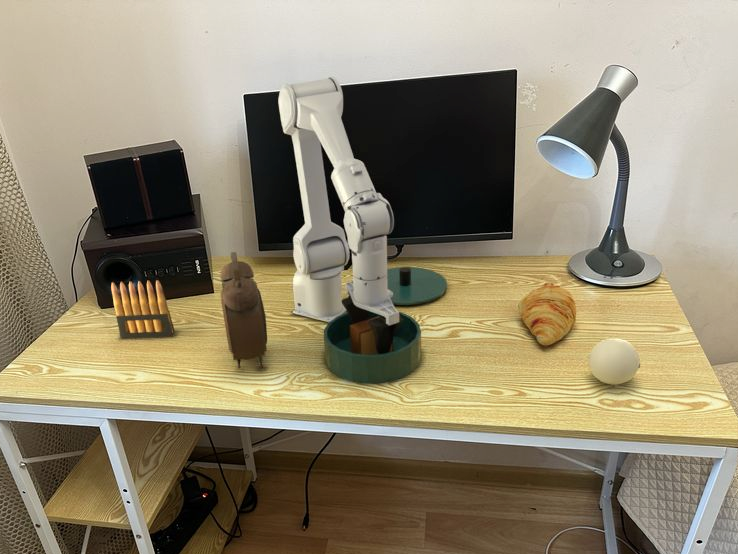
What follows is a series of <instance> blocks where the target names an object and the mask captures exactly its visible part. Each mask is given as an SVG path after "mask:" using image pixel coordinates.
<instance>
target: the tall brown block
mask: <svg viewBox="0 0 738 554" xmlns="http://www.w3.org/2000/svg"><path fill="white" fill-rule="evenodd" d="M376 318H379V316H378V317H375V318H372V319H369V320H365V321H362V322H359V323H356V324H353V325H350V336H351V353H355V354H364V355H375V354H378V353H377V350H376V344H375V338H374V334H373V331H372V329H371V327H370V325H369V324H368V321H370V320H373V319H376ZM393 351H394V346H393V341H392V345H391V348H390V352H393ZM388 353H389V352H388Z"/></svg>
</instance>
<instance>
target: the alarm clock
mask: <svg viewBox="0 0 738 554" xmlns="http://www.w3.org/2000/svg"><path fill="white" fill-rule="evenodd" d="M230 258H231V262H228V263H226V264H225V265H224V266H222V269H221V270H220V282H221V287H222V289H221V290H220V292H219V293H220V301H221V307H222V315H223V322H224V328H225V334H226V341H227V346H228V351H229V352H230V353H231V354H232V357H233V361H236V363H237V366H236V368H237V369H238V370H240V369H241V363H242V362H241V361H244V360H252V359H255V358H256V359H257V360H258V363H259V366H258V367H259V369H263V368H264V365H263V356H265V355H266V352H267V343H268V328H267V318H266V311H265V307H264V302H263V298H262V293H261V290H260V289H259V288H258V283H257V282H256V281H255V280H254V277H255V274H254V272H253V269H252V267H251V265H250V264H249V263H248V262H245V261H239V260H238V254H237V252H236V251H233V252H230Z"/></svg>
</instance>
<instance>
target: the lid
mask: <svg viewBox="0 0 738 554" xmlns="http://www.w3.org/2000/svg"><path fill="white" fill-rule="evenodd" d="M387 284H388V290H390V291H391V292H393V297H390V299H391V301H392V303H393V305H397V306H409V305H411V306H412V305H419V304H424V303H428V302H431V301H433V300H436V299H438V298H440V297H441V296H442V295H443V294H445V292H446V290H447V289H448V288H447V287H448V283H447V280H446V278H445V277H444V276H443V275H442V274H441V273H438V272H436V271H434V270H432V269H427V268H424V267H418V266H417V267H416V266H399V267H392V268H391V267H390V268H387Z"/></svg>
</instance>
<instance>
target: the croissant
mask: <svg viewBox="0 0 738 554" xmlns="http://www.w3.org/2000/svg"><path fill="white" fill-rule="evenodd" d="M517 312H518V314H519V316H521V321H522V322H523V324H525V326H526V327H527V328H528V329H529V332H530V333H531V334H532V335H533V336H534V337H535V338H536V340H537V342H538V343H539V344H540V345H542V346H550V345H553V344H555V343H556V342H558V341H560V340H561V339H563V337H565V336H566V335H567V334H568V333H569V332H570V330H571V329H573V328H574V327H575V325H576V322H577V321H576V320H577V306H576V301H575V299H574V297H573V294H571V293H570V291H568V290H567V289H566V288H563V287H561V286H560V285H555V284H554V283H549V282H546V283H544V284H543V285H542V286H541V287H538V288H535V289H533V290H532V291H530V292H529V293H528V294H526V295H524V296H523V297H522V298H521V300H520V301H519V302H518V304H517Z"/></svg>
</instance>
